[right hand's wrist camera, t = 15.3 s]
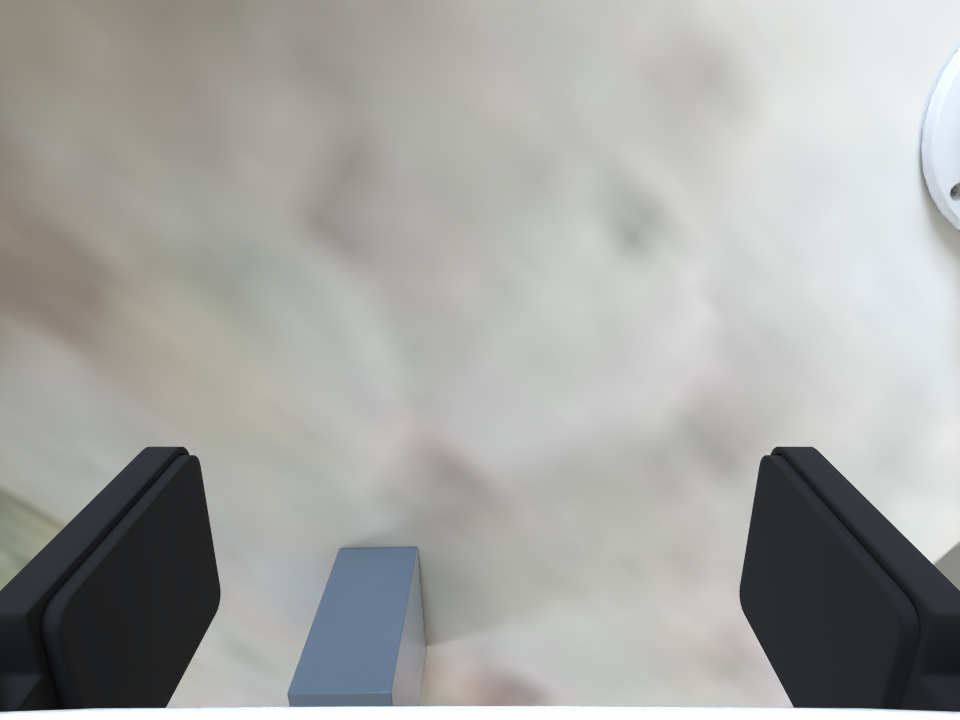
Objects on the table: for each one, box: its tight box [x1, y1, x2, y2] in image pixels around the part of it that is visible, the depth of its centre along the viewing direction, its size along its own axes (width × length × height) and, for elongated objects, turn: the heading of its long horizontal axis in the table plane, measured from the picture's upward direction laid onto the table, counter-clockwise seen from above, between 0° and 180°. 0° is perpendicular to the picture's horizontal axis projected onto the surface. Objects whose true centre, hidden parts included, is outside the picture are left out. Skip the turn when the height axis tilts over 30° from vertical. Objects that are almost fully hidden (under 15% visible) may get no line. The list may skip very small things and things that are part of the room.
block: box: [288, 547, 426, 707], centre depth 38 cm, size 5×8×11 cm, turn 3°
